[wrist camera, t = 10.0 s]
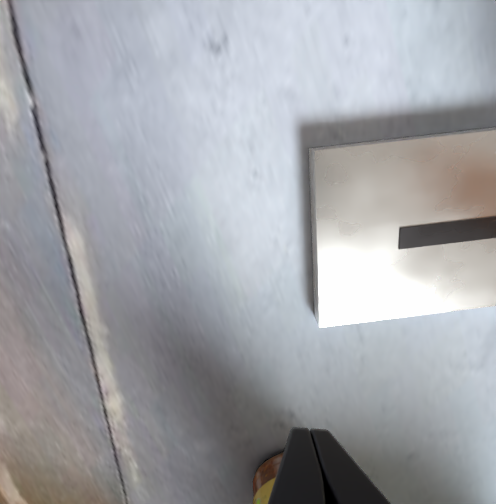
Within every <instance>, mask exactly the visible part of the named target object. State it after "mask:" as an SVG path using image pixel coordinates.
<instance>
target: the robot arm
mask: <svg viewBox="0 0 496 504" xmlns="http://www.w3.org/2000/svg"><path fill="white" fill-rule="evenodd" d="M268 504H391V503H390V502H389V501H388V500H387V499H386V498H385V496H384V495H383V494H382V493H381V492H380V490H379V489H378V488H377V487H376V486H375V485H374V483H373V482H372V481H371V480H370V479H369V478H368V476H367V475H366V474H365V473H364V472H363V471H362V469H361V468H360V467H359V466H358V465H357V463H356V462H355V461H354V460H353V459H352V458H351V456H350V455H349V454H348V453H347V452H346V451H345V449H344V448H343V447H342V446H341V445H340V444H339V442H338V441H337V440H336V439H335V438H334V436H333V435H332V434H331V433H330V432H329V431H328V430H325V429H311V430H309V429H308V428H299V427H293V428H292V429H291V431H290V434H289V437H288V440H287V443H286V447H285V450H284V453H283V456H282V459H281V462H280V466H279V469H278V472H277V475H276V478H275V482H274V485H273V488H272V491H271V494H270V497H269V501H268Z"/></svg>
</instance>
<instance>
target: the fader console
mask: <svg viewBox="0 0 496 504" xmlns="http://www.w3.org/2000/svg"><path fill="white" fill-rule="evenodd" d="M309 170H310V199H311V228H312V256H313V285H314V314H315V319H316V321H317V323H318V325H319V327H320V328H321V327H329V326H337V325H345V324H353V323H361V322H369V321H377V320H385V319H393V318H401V317H410V316H418V315H426V314H434V313H442V312H450V311H458V310H466V309H474V308H482V307H490V306H496V127H493V128H484V129H475V130H467V131H458V132H449V133H440V134H431V135H423V136H414V137H405V138H396V139H387V140H379V141H370V142H361V143H352V144H343V145H335V146H326V147H317V148H309Z"/></svg>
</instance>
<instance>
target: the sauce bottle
mask: <svg viewBox="0 0 496 504" xmlns="http://www.w3.org/2000/svg"><path fill="white" fill-rule="evenodd" d="M283 453H284V452H282V453H280V454H278V455H276V456H273V457H272V458H270V459H269V460H267V461H265V462H264V463H263V464H262V465H261V466H260V467H259V468H258V470H257V471H256V473H255V476H254V480H253V492H254V499H253V504H268V501H269V497H270V494H271V491H272V488H273V485H274V482H275V478H276V475H277V472H278V469H279V466H280V462H281V459H282V456H283Z"/></svg>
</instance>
